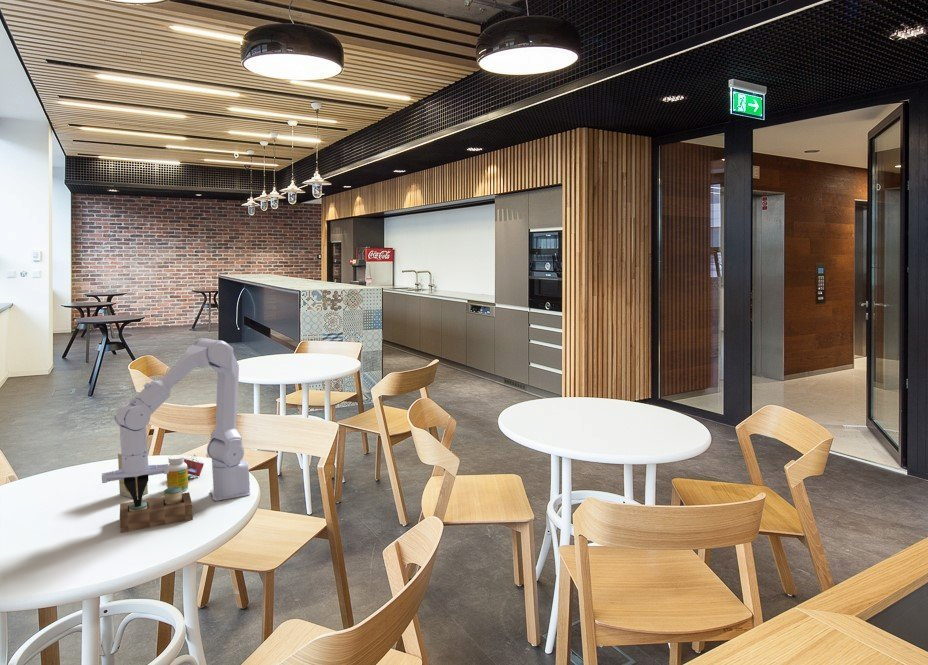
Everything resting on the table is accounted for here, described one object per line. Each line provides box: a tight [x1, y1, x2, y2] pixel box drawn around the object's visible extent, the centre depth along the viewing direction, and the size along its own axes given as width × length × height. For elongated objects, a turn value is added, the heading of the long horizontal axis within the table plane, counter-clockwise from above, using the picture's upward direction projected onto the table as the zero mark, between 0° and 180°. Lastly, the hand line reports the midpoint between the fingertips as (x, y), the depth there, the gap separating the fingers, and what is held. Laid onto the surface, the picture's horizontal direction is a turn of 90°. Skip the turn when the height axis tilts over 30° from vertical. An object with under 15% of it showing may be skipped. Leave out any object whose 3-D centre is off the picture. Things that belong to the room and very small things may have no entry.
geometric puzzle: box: [184, 454, 205, 478], centre depth 185 cm, size 7×7×8 cm
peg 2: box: [163, 487, 183, 506], centre depth 157 cm, size 4×4×4 cm
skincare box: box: [117, 451, 149, 499], centre depth 171 cm, size 6×4×12 cm
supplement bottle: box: [166, 454, 189, 493], centre depth 175 cm, size 5×5×10 cm
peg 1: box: [129, 502, 147, 512], centre depth 154 cm, size 4×4×4 cm
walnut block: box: [119, 491, 194, 533], centre depth 156 cm, size 16×9×4 cm, turn 118°
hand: (138, 505), depth 154 cm, fingers closed, pressing on peg 1
